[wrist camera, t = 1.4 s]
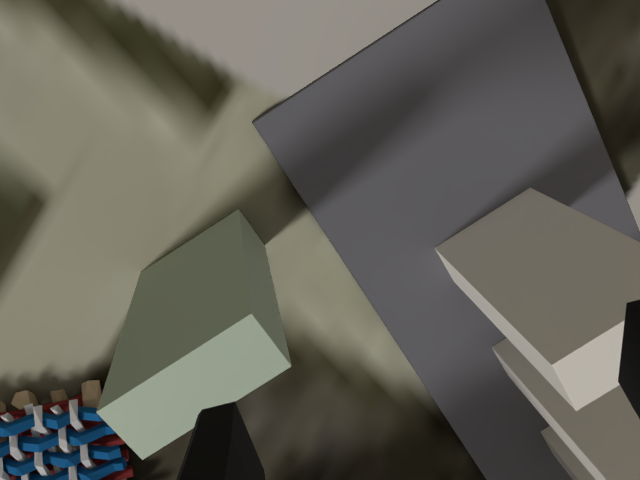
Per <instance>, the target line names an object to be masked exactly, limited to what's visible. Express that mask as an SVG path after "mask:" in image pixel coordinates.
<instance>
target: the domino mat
mask: <svg viewBox="0 0 640 480" xmlns="http://www.w3.org/2000/svg"><path fill="white" fill-rule="evenodd" d="M252 123H253V125H254V126H255V128H256V129H257V131H258V132H259V134H260V135H261V137H262V138H263V140H264V141H265V143H266V144H267V146H268V147H269V149H270V151H271V152H272V154H273V155H274V157H275V158H276V160H277V161H278V163H279V164H280V166H281V167H282V169H283V170H284V172H285V173H286V175H287V176H288V178H289V180H290V181H291V183H292V184H293V186H294V187H295V189H296V190H297V192H298V193H299V195H300V196H301V198H302V199H303V201H304V202H305V204H306V205H307V207H308V208H309V210H310V212H311V213H312V215H313V216H314V218H315V219H316V221H317V222H318V224H319V225H320V227H321V228H322V230H323V231H324V233H325V234H326V236H327V237H328V239H329V241H330V242H331V244H332V245H333V247H334V248H335V250H336V251H337V253H338V254H339V256H340V257H341V259H342V260H343V262H344V263H345V265H346V266H347V268H348V269H349V271H350V273H351V274H352V276H353V277H354V279H355V280H356V282H357V283H358V285H359V286H360V288H361V289H362V291H363V292H364V294H365V295H366V297H367V298H368V300H369V302H370V303H371V305H372V306H373V308H374V309H375V311H376V312H377V314H378V315H379V317H380V318H381V320H382V321H383V323H384V324H385V326H386V327H387V329H388V331H389V332H390V334H391V335H392V337H393V338H394V340H395V341H396V343H397V344H398V346H399V347H400V349H401V350H402V352H403V353H404V355H405V356H406V358H407V359H408V361H409V363H410V364H411V366H412V367H413V369H414V370H415V372H416V373H417V375H418V376H419V378H420V379H421V381H422V382H423V384H424V385H425V387H426V388H427V390H428V392H429V393H430V395H431V396H432V398H433V399H434V401H435V402H436V404H437V405H438V407H439V408H440V410H441V411H442V413H443V414H444V416H445V417H446V419H447V420H448V422H449V424H450V425H451V427H452V428H453V430H454V431H455V433H456V434H457V436H458V437H459V439H460V440H461V442H462V443H463V445H464V446H465V448H466V449H467V451H468V453H469V454H470V456H471V457H472V459H473V460H474V462H475V463H476V465H477V466H478V468H479V469H480V471H481V472H482V474H483V475H484V477H485V478H486V480H573V479H572V478H571V477H570V475H569V474H568V473H567V472H566V470H565V469H564V468H563V467H562V465H561V464H560V463H559V462H558V460H557V459H556V458H555V456H554V455H553V453H552V451H551V450H550V448H549V446H548V444H547V443H546V441H545V439H544V437H543V436H542V434H541V431H542V430H544V429H546V428H547V427H549V426H550V425H549V424H548V423H547V421H546V420H545V419H544V418H543V417H542V415H541V414H540V413H539V412H538V411H537V409H536V408H535V407H534V406H533V405H532V404H531V402H530V401H529V400H528V399H527V398H526V396H525V395H524V394H523V393H522V392H521V391H520V389H519V388H518V387H517V386H516V385H515V383H514V382H513V381H512V380H511V379H510V377H509V376H508V375H507V373H506V371H505V370H504V368H503V366H502V364H501V363H500V361H499V359H498V357H497V356H496V354H495V352H494V351H493V349H492V347H493V346H494V345H496V344H497V343H499V342H501V341H502V340H504V339H505V338H507V337H506V336H505V335H504V334H503V333H502V332H501V331H500V330H499V329H498V328H497V327H496V326H495V325H494V324H493V322H492V321H491V320H490V319H489V318H488V317H487V316H486V315H485V314H484V313H483V312H482V311H481V310H480V309H479V308H478V307H477V306H476V304H475V303H474V302H473V301H472V300H471V299H470V298H469V297H468V296H467V295H466V294H465V293H464V292H463V291H462V290H461V289H460V288H459V286H458V285H457V284H456V283H455V282H454V281H453V279H452V277H451V276H450V274H449V272H448V271H447V269H446V267H445V265H444V264H443V262H442V260H441V258H440V257H439V255H438V253H437V251H436V250H435V247H437V246H438V245H440V244H442V243H443V242H445V241H446V240H448V239H449V238H451V237H453V236H454V235H456V234H457V233H459V232H461V231H462V230H464V229H465V228H467V227H468V226H470V225H472V224H473V223H475V222H476V221H478V220H480V219H481V218H483V217H484V216H486V215H487V214H489V213H491V212H492V211H494V210H495V209H497V208H499V207H500V206H502V205H503V204H505V203H506V202H508V201H510V200H511V199H513V198H514V197H516V196H518V195H519V194H521V193H522V192H524V191H525V190H527V189H529V188H532V189H534V190H536V191H538V192H540V193H542V194H544V195H546V196H548V197H550V198H552V199H554V200H556V201H558V202H560V203H562V204H564V205H566V206H568V207H570V208H572V209H574V210H576V211H578V212H580V213H582V214H584V215H586V216H588V217H590V218H592V219H594V220H596V221H598V222H600V223H602V224H604V225H606V226H608V227H610V228H612V229H614V230H616V231H618V232H620V233H622V234H624V235H626V236H628V237H630V238H632V239H634V240H636V241H638V242H640V231H639V229H638V227H637V224H636V221H635V220H634V216H633V214H632V212H631V209H630V207H629V204H628V202H627V199H626V197H625V194H624V192H623V190H622V187H621V185H620V182H619V180H618V177H617V175H616V172H615V170H614V167H613V165H612V163H611V160H610V158H609V155H608V153H607V150H606V148H605V145H604V143H603V140H602V138H601V136H600V133H599V131H598V128H597V126H596V123H595V121H594V118H593V116H592V114H591V111H590V109H589V106H588V104H587V101H586V99H585V96H584V94H583V91H582V89H581V87H580V84H579V82H578V79H577V77H576V74H575V72H574V69H573V67H572V64H571V62H570V60H569V57H568V55H567V52H566V50H565V47H564V45H563V42H562V40H561V38H560V35H559V33H558V30H557V28H556V25H555V23H554V20H553V18H552V15H551V13H550V11H549V8H548V6H547V3H546V1H545V0H438V1H436V2H434V3H433V4H432V5H430V6H428V7H427V8H425V9H424V10H422V11H421V12H419V13H417V14H416V15H414V16H413V17H411V18H410V19H408V20H407V21H405V22H404V23H402V24H401V25H399V26H398V27H396V28H394V29H393V30H392V31H390V32H388V33H387V34H385V35H384V36H382V37H381V38H379V39H378V40H376V41H375V42H373V43H372V44H370V45H368V46H367V47H365V48H364V49H362V50H361V51H359V52H358V53H356V54H355V55H353V56H352V57H350V58H348V59H347V60H345V61H344V62H342V63H341V64H339V65H338V66H336V67H335V68H333V69H332V70H330V71H329V72H327V73H326V74H324V75H322V76H321V77H320V78H318V79H316V80H315V81H313V82H312V83H310V84H309V85H307V86H306V87H304V88H303V89H301V90H300V91H298V92H296V93H295V94H293V95H292V96H290V97H289V98H287V99H286V100H284V101H283V102H281V103H280V104H278V105H276V106H275V107H273V108H272V109H270V110H269V111H267V112H266V113H264V114H263V115H261V116H260V117H258V118H257V119H255V120H254V121H252Z"/></svg>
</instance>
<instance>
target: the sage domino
mask: <svg viewBox="0 0 640 480" xmlns="http://www.w3.org/2000/svg"><path fill="white" fill-rule="evenodd" d="M289 367H291V362H290V357H289V353H288V348H287V344H286V339H285V335H284V330H283V326H282V321H281V317H280V312H279V308H278V303H277V299H276V294H275V290H274V285H273V281H272V276H271V272H270V267H269V263H268V258H267V254H266V249H265V245H264V244H263V242H262V241H261V239H260V238H259V237H258V235H257V234H256V232H255V231H254V230H253V228H252V227H251V225H250V224H249V223H248V221H247V220H246V218H245V217H244V216H243V214H242V213H241V211H240V210H239V209H238V210H236V211H234V212H233V213H231V214H230V215H228V216H227V217H225V218H224V219H222V220H221V221H219V222H217V223H216V224H214V225H213V226H211V227H210V228H208V229H207V230H205V231H204V232H202V233H200V234H199V235H197V236H196V237H194V238H193V239H191V240H190V241H188V242H186V243H185V244H183V245H182V246H180V247H179V248H177V249H176V250H174V251H173V252H171V253H169V254H168V255H166V256H165V257H163V258H162V259H160V260H159V261H157V262H156V263H154V264H152V265H151V266H149V267H148V268H146V269H145V270H143V271H142V272H141V273H140V276H139V279H138V282H137V285H136V288H135V292H134V295H133V298H132V301H131V304H130V307H129V310H128V314H127V317H126V320H125V323H124V326H123V329H122V332H121V336H120V339H119V342H118V345H117V348H116V351H115V354H114V358H113V361H112V364H111V367H110V370H109V373H108V376H107V380H106V383H105V386H104V389H103V392H102V395H101V398H100V402H99V405H98V408H97V411H96V413H97V414H98V415H99V416H100V417H101V418H102V419H103V420H104V421H105V422H106V423H107V424H108V425H109V426H110V427H111V428H112V429H113V430H114V431H115V432H116V433H117V434H118V435H119V436H120V438H121V439H122V440H123V441H124V442H125V443H126V444H127V445H128V446H129V447H130V448H131V449H132V450H133V451H134V452H135V453H136V454H137V455H138V456H139V457H140V458H141V459H142V460H143V459H145V458H146V457H148V456H150V455H151V454H153V453H154V452H156V451H158V450H159V449H161V448H162V447H164V446H165V445H167V444H169V443H170V442H172V441H173V440H175V439H177V438H178V437H180V436H181V435H183V434H185V433H186V432H188V431H189V430H191V429H192V428H194V426H195V423H196V419H197V416H198V414H199V413H200V412H201V410H202V409H206V408H210V407H214V406H218V405H222V404H226V403H230V402H234V401H237V400H239V399H240V398H242V397H243V396H245V395H246V394H248V393H250V392H251V391H253V390H254V389H256V388H258V387H259V386H261V385H262V384H264V383H266V382H267V381H269V380H270V379H272V378H273V377H275V376H277V375H278V374H280V373H281V372H283V371H285V370H286V369H288V368H289Z"/></svg>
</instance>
